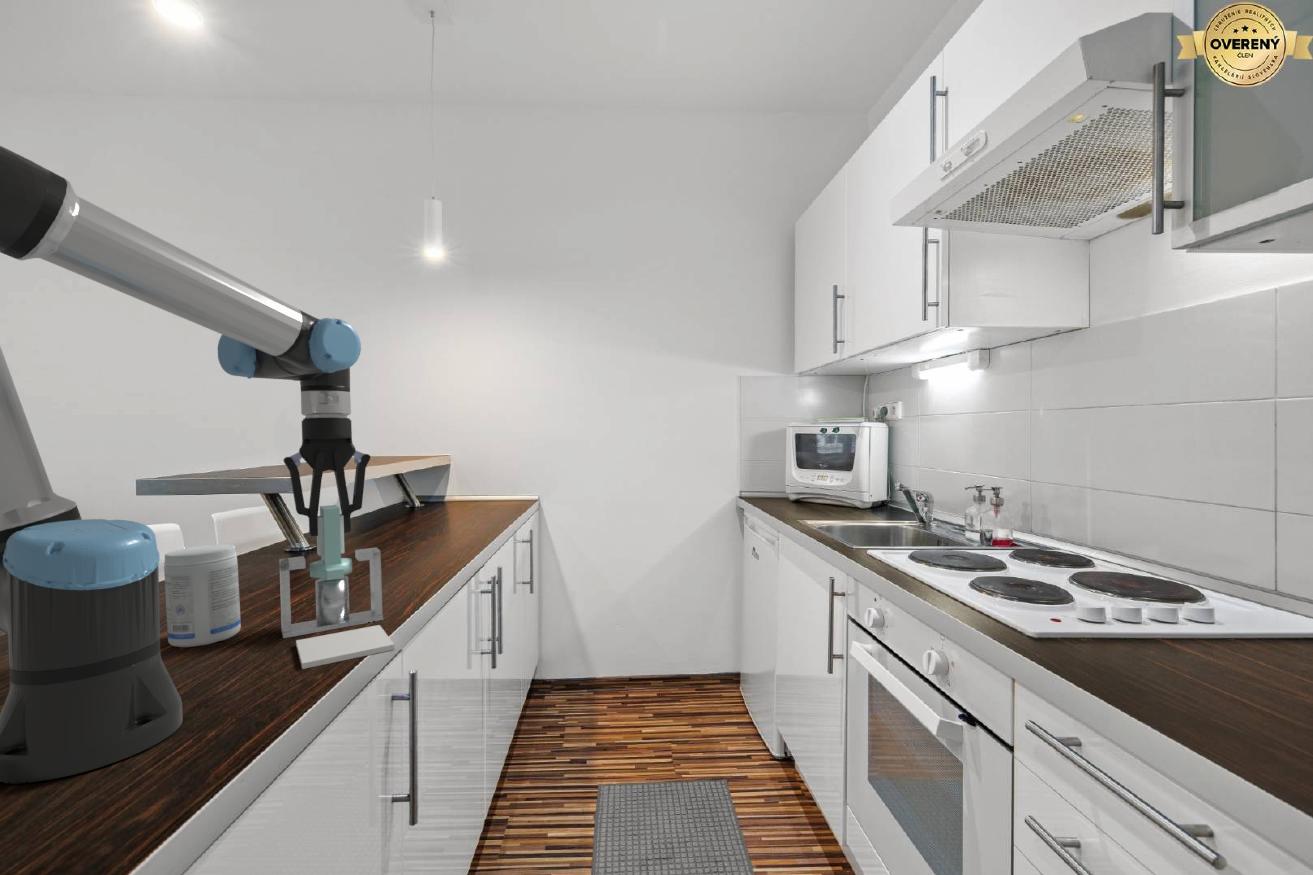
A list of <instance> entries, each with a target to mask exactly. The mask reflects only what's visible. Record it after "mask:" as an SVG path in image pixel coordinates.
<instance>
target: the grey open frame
mask: <svg viewBox="0 0 1313 875" xmlns="http://www.w3.org/2000/svg"><path fill="white" fill-rule="evenodd" d="M354 554H355V555H354V556H355V557H354V558H355V559H356V560H357V561H358V562H363V561H364V562H365V561H369V585H370V586H369V587H370V609H369V610H365V611H359V612H354V613H350V595H349V594H350V590H349V589H350V588H349V576H348V575H344V578H341V579H334V580H327V579H326V578H316V579H315V582H314V583H315V584H314V585H315V612H316V613H315V615H316V619H313V620H309V621H307V620H306V621H302V622H295V623H292V615H291V613H292V612H291V610H292V609H291V581H290V580H291V579H290V578H291V576H290V575H291V573H290V571H293V570H295V571H296V570H302V569H303V570H304V569H307V568H306V558H305V557H304V555H303V556H294V557H284V558H279V559H278V560H279V588H280V590H279V591H280V593H279V594H280V623H281V627H280V628H281V635H282V638H283V639H288V638H292V637H298V636H303V635H304V636H305V635H309V634H315V633H321V632H324V631H332V630H336V629H341V628H347V627H353V626H358V625H363V624H368V622H370V623H374V622H373V621H375V622H379V621H380V620H381V621H383V620H384V615H383V590H382V588H383V587H382V586H383V585H382V562H381V561H382V560H381V558H382V556H381V549H379V548H378V547H377V546H376V547H369V548H368V547H367V548H360V549H355V550H354Z"/></svg>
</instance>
